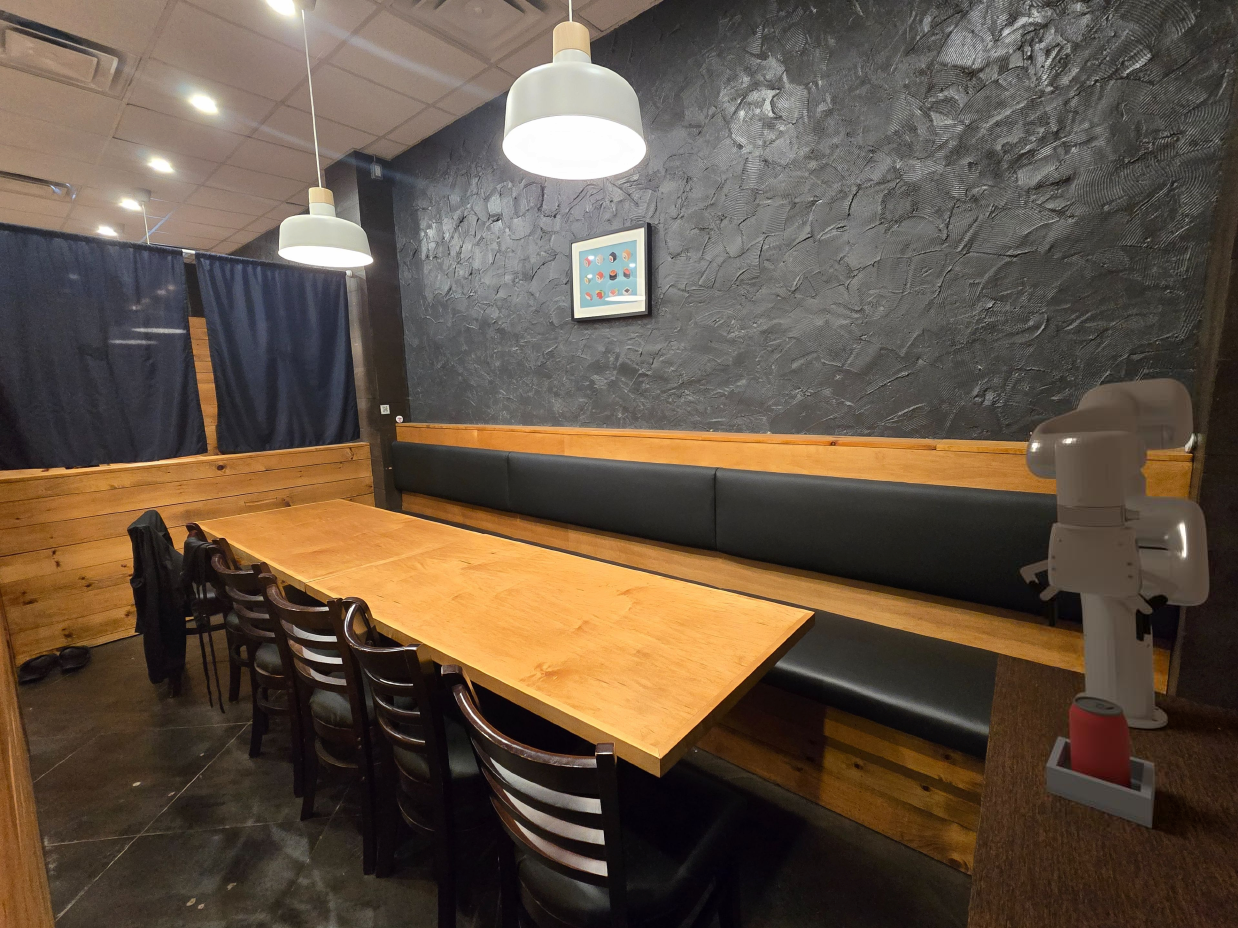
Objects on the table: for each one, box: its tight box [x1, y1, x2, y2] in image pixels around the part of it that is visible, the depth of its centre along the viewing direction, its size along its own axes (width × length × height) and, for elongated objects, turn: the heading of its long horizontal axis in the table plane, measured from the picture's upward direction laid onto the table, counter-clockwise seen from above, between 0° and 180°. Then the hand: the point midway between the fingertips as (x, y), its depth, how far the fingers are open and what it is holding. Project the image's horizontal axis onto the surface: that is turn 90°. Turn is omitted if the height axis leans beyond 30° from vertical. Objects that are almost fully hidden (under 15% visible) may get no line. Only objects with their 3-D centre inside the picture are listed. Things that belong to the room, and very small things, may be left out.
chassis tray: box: [1045, 735, 1156, 829], centre depth 78 cm, size 11×11×4 cm
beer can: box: [1068, 696, 1131, 789], centre depth 78 cm, size 7×7×12 cm
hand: (1095, 631), depth 78 cm, fingers open, 9 cm apart
